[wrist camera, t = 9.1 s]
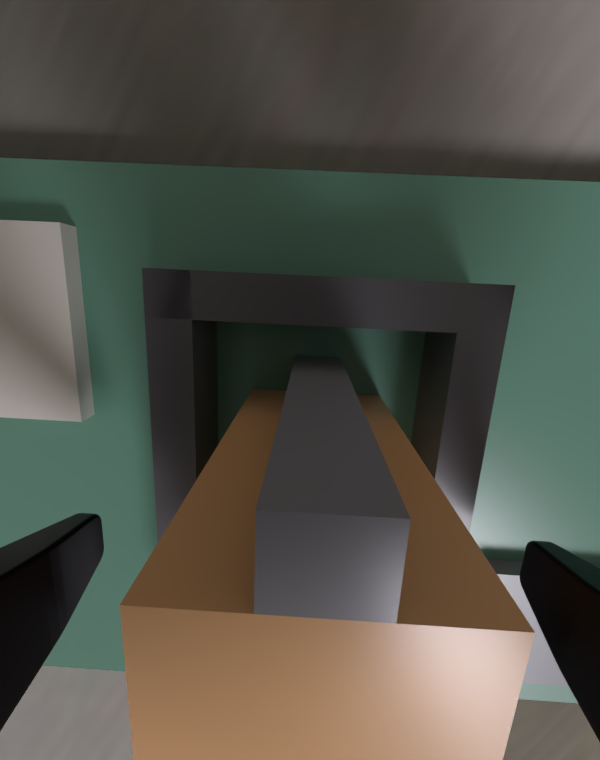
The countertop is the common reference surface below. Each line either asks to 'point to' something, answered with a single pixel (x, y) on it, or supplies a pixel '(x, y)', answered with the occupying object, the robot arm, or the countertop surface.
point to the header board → (294, 348)
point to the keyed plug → (320, 598)
